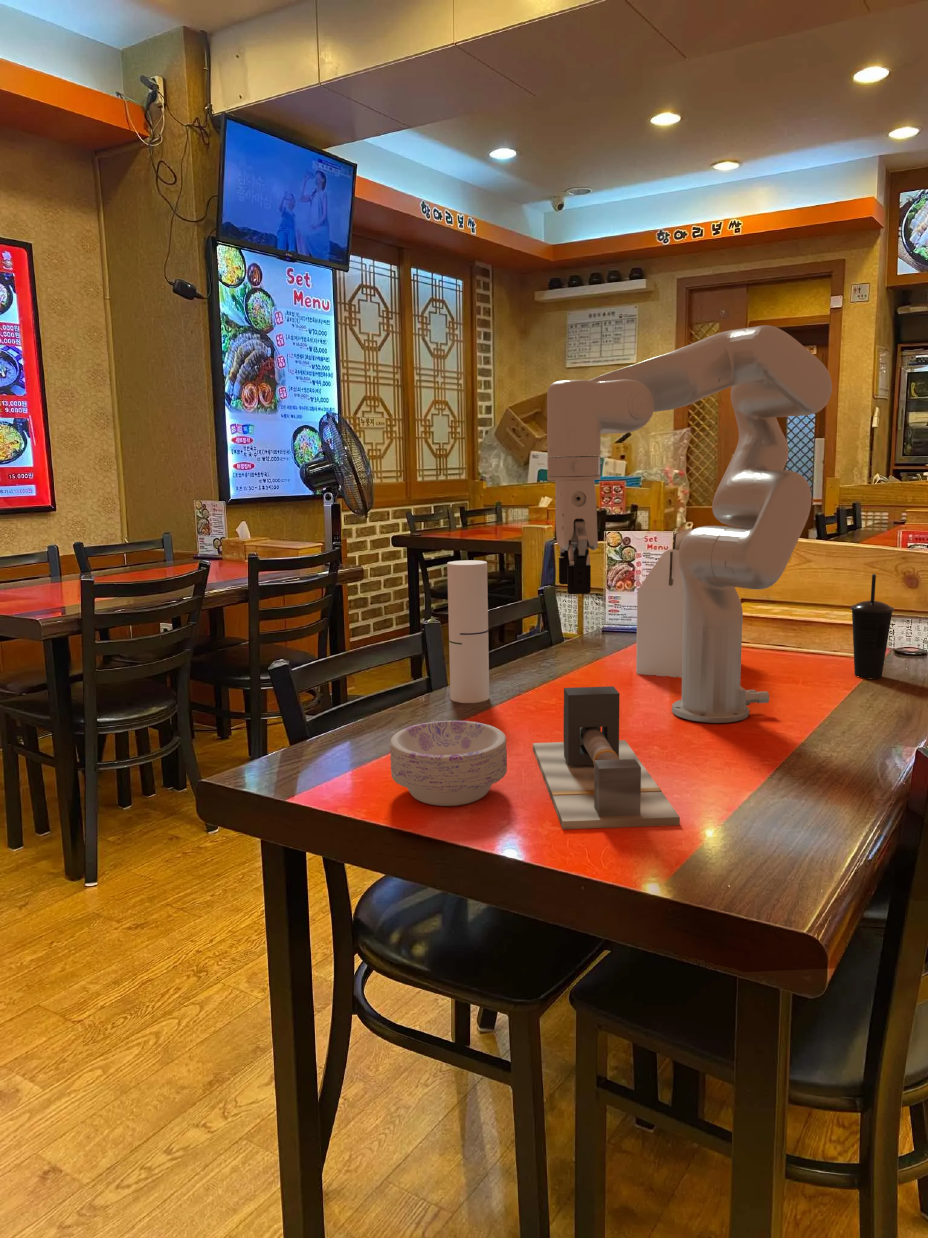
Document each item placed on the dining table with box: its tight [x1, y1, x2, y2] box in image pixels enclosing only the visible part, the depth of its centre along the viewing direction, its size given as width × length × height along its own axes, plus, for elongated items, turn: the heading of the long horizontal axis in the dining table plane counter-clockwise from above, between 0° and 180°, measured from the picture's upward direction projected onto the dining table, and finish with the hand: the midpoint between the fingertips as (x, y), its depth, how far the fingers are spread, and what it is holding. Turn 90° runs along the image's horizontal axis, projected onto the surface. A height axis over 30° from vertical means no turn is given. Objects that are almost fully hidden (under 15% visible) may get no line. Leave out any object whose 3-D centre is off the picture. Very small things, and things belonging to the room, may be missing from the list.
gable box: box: [635, 528, 693, 679], centre depth 187 cm, size 22×13×28 cm, turn 155°
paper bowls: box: [389, 720, 508, 807], centre depth 119 cm, size 15×15×8 cm
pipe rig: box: [532, 727, 681, 830], centre depth 122 cm, size 30×14×7 cm, turn 2°
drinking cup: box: [850, 573, 895, 679], centre depth 175 cm, size 8×8×20 cm
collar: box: [563, 685, 620, 766], centre depth 126 cm, size 4×7×10 cm, turn 92°
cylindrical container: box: [446, 559, 490, 704], centre depth 165 cm, size 7×7×25 cm
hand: (574, 588), depth 133 cm, fingers open, 9 cm apart
